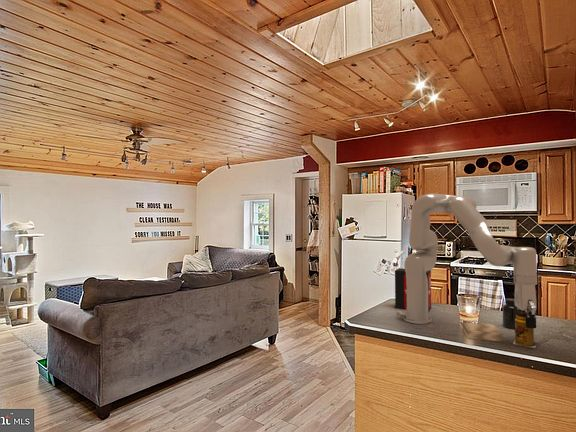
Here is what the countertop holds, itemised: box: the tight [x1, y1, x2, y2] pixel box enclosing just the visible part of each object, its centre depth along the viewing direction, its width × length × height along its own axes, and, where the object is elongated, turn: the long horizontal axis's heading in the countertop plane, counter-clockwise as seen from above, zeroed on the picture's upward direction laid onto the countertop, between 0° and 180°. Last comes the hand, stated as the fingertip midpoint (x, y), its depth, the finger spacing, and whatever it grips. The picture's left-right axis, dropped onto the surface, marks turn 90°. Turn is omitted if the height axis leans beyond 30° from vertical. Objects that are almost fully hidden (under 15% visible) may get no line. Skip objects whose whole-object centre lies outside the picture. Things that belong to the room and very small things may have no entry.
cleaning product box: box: [394, 267, 432, 313], centre depth 193 cm, size 16×9×20 cm, turn 60°
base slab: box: [462, 322, 503, 342], centre depth 150 cm, size 12×12×3 cm
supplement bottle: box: [502, 298, 517, 330], centre depth 161 cm, size 7×7×12 cm
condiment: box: [512, 311, 539, 349], centre depth 141 cm, size 7×8×12 cm
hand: (526, 324), depth 140 cm, fingers open, 9 cm apart
